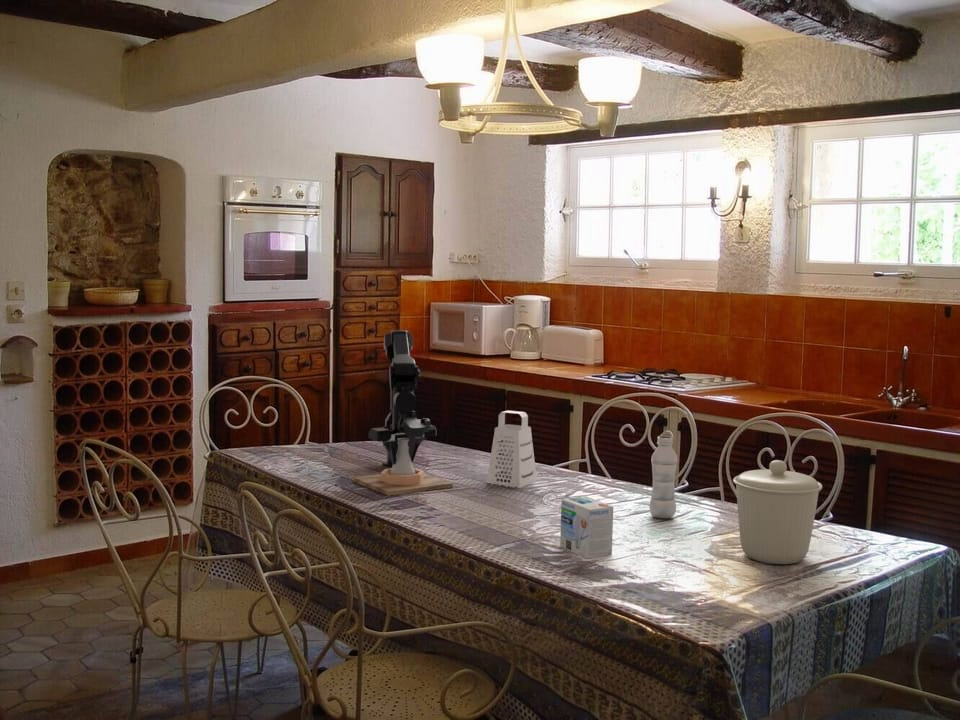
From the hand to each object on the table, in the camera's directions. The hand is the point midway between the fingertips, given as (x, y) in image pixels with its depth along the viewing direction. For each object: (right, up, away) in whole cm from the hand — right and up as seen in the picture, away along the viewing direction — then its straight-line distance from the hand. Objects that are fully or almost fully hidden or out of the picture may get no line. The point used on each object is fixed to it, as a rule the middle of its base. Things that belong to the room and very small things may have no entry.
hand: (402, 463), depth 279 cm
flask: (0, -3, 0) cm, 3 cm away
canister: (+84, -14, -64) cm, 106 cm away
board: (0, -6, 0) cm, 6 cm away
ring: (0, -5, 0) cm, 5 cm away
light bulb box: (+44, -13, -61) cm, 76 cm away
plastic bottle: (+66, -10, -31) cm, 74 cm away
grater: (+30, -6, +6) cm, 31 cm away
